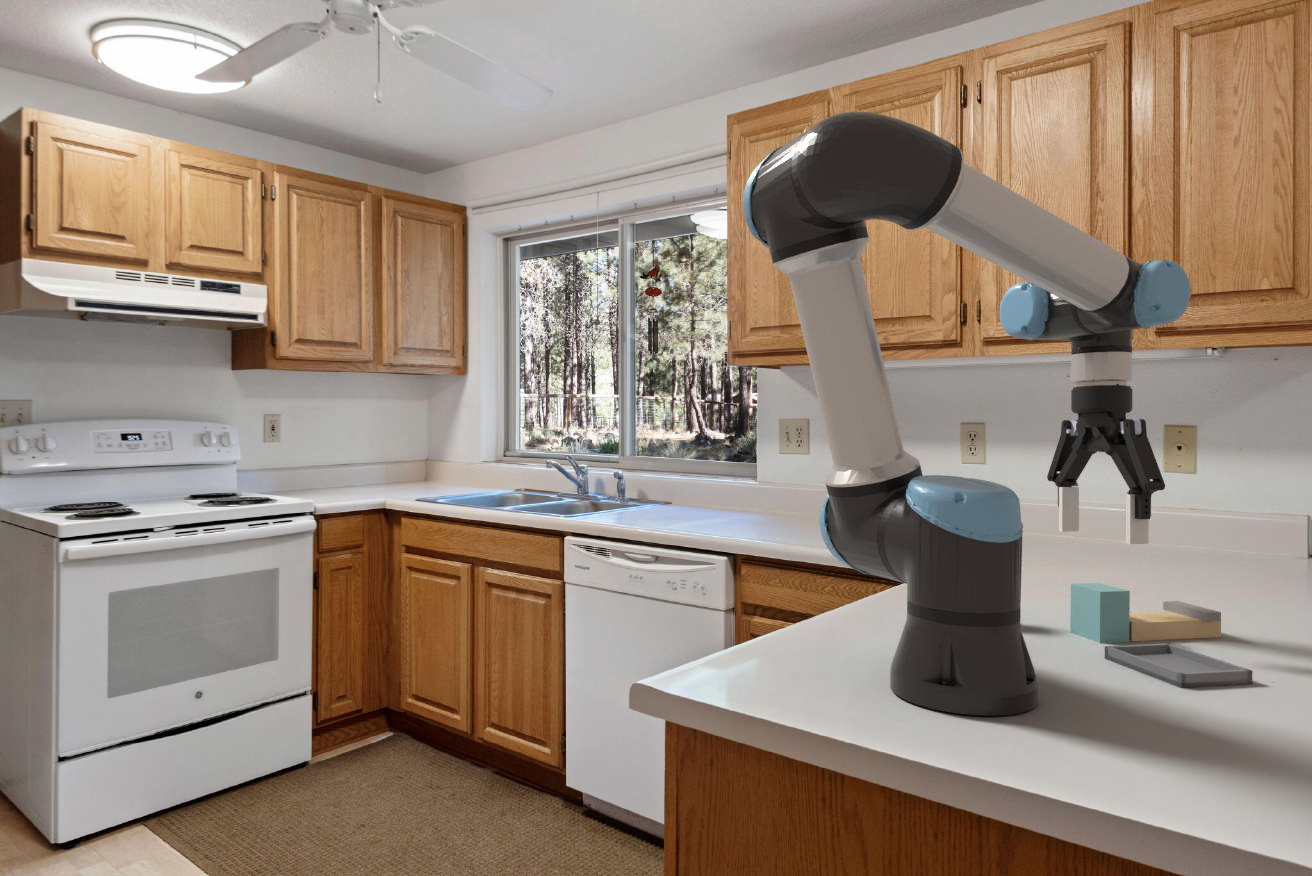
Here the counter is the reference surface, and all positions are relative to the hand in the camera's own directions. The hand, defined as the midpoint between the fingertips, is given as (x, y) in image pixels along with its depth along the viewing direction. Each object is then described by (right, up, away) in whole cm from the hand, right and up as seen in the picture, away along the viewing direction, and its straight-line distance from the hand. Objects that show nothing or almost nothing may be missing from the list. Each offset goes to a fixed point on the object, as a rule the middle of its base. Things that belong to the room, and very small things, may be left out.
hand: (1101, 537), depth 116 cm
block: (0, -14, 0) cm, 14 cm away
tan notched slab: (+9, -14, +2) cm, 17 cm away
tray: (0, -14, -16) cm, 21 cm away
